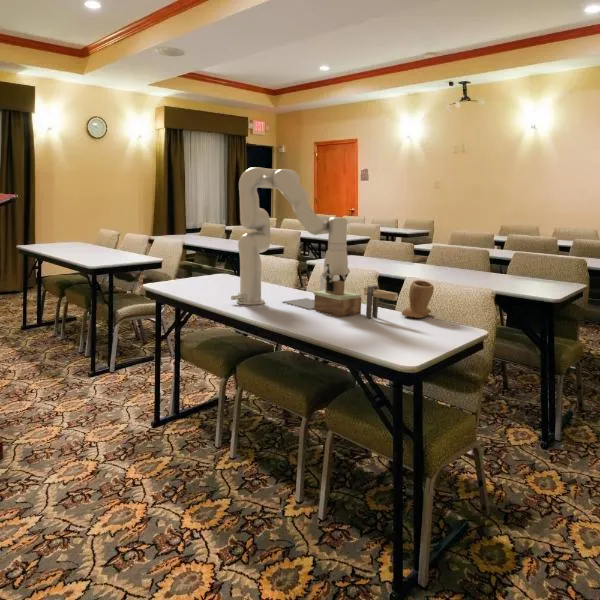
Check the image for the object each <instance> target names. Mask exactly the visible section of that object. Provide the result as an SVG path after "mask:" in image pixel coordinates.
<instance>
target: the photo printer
mask: <svg viewBox="0 0 600 600" xmlns="http://www.w3.org/2000/svg"><path fill="white" fill-rule="evenodd" d="M330 277H331V276H330ZM333 280H340V279H339V275H334V277H333ZM323 290H326V279H325V278H324V276H323V275H322V272H320V277H319V291H323Z"/></svg>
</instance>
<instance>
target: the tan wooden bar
mask: <svg viewBox="0 0 600 600" xmlns="http://www.w3.org/2000/svg"><path fill="white" fill-rule="evenodd" d="M367 288H368V286H367V287H363V295H364V296H367ZM398 295H399V293H397V292H393V291H387V290H384V289H383V290H382V289H380V288H379V289H373V296H372V298H373V297H378V299H384V300H390V301H393V302H395V301H398V297H399V296H398Z"/></svg>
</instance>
